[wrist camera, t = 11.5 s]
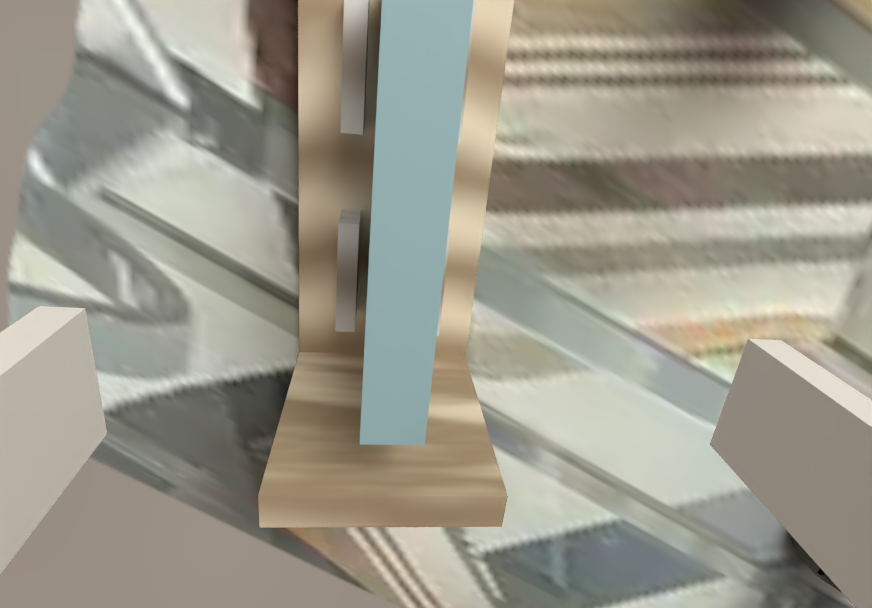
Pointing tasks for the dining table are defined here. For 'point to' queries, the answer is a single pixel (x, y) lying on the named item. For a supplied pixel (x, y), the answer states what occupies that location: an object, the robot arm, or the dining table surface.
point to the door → (410, 210)
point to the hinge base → (347, 296)
